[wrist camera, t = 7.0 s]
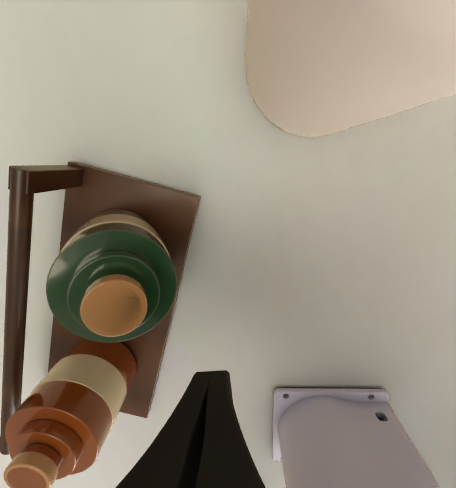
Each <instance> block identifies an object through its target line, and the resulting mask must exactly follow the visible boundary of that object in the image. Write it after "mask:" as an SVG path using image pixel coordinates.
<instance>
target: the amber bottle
mask: <svg viewBox="0 0 456 488" xmlns="http://www.w3.org/2000/svg"><path fill="white" fill-rule="evenodd" d="M136 369H137V368H136V361H135V359H134V356H133V355H132V353H131V352H130V350H129V349H128V348H127V347H126V346H125V345H123V344H122V343H120V342H110V343H107V342H96V341H91V340H88V339H84V338H82V339H80V340H79V341H77V342H76V343H75V344H74V345H73V346H72V347H71V348H70V349H69V351H68V352H67V353H66V354H65V355H64V356H63V357H62V359H61V360H60V361H58V362H57V363H56V364H55V366H54V367H53V368H52V369H51V370H50V371H49V372H48V374H47V375H46V376H45V377H44V378H43V379H42V380H41V382H40V383H39V384H38V385H37V386H36V387H35V388H34V390H33V391H32V392H31V394H30V395H29V396H28V398H27V399H26V400H25V401H24V402H23V403H22V405H21V406H20V407H19V408H18V409H17V410H16V411H15V413H14V414H13V415H12V416H11V417H10V419H9V420H8V422H7V424H6V428H5V438H6V441H7V444H8V446H9V452H10V456H11V458H12V461H11V463H10V464H9V465H8V467H7V468H6V469H5V472H4V480H5V482H6V483H7V485H8V486H9V487H10V488H51V486H52V484H53V483H54V481H55V479H60V478H64V477H66V476H68V475H72V474H76V473H79V472H82V471H84V470H86V469H87V468H89V467H90V466H91V465H92V464H93V463H94V462H95V460H96V459H97V456H98V454H99V452H100V450H101V448H102V446H103V444H104V442H105V439H106V437H107V435H108V433H109V432H110V430H111V428H112V426H113V424H114V422H115V420H116V418H117V415H118V413H119V411H120V409H121V407H122V405H123V403H124V400H125V398H126V395H127V393H128V390H129V388H130V386H131V384H132V382H133V380H134V378H135V375H136Z"/></svg>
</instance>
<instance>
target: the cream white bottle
mask: <svg viewBox="0 0 456 488" xmlns="http://www.w3.org/2000/svg"><path fill="white" fill-rule="evenodd" d="M246 76H247V82H248V85H249V88H250V90H251V93H252V96H253V99H254V102H255V103H256V105H257V106H258V107H259V109H260V110H261V111H262V113H263V114H264V115H265V117H266V118H267V119H268V120H269V121H270V122H272V123H273V124H275V125H276V126H278V127H279V128H281V129H282V130H284V131H285V132H288V133H292V134H296V135H300V136H304V137H312V136H325V135H330V134H333V133H336V132H339V131H342V130H345V129H348V128H352V127H355V126H358V125H361V124H364V123H367V122H370V121H374V120H377V119H380V118H383V117H386V116H389V115H392V114H396V113H399V112H402V111H405V110H408V109H411V108H414V107H418V106H421V105H424V104H427V103H430V102H433V101H437V100H440V99H443V98H446V97H449V96H452V95H455V94H456V0H248V15H247V34H246Z"/></svg>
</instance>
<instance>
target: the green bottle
mask: <svg viewBox="0 0 456 488" xmlns="http://www.w3.org/2000/svg"><path fill="white" fill-rule="evenodd" d="M176 289H177V277H176V272H175V268H174V265H173V263H172V261H171V259H170V256H169V253H168V251H167V249H166V247H165V245H164V243H163V241H162V239H161V237H160V236H159V234H158V232H157V231H156V229H155V228H154V226H153V225H152V224H151V223H150V222H149V221H148V220H147V219H145V218H144V217H143V216H141V215H139V214H137V213H134V212H132V211H127V210H121V209H113V210H106V211H103V212H100V213H97V214H95V215H93V216H92V217H90V218H89V219H87V220H86V221H85V222H84V223H83V224H82V225H81V226H80V227H79V228H78V230H77V231H76V232H75V233H74V234H73V235H72V237H71V238H70V239H69V240H68V242H67V243H66V244H65V246H64V247H63V249H62V250H61V252H60V254H59V256H58V257H57V258H56V260H55V261H54V263H53V265H52V267H51V269H50V271H49V274H48V278H47V283H46V294H47V300H48V303H49V306H50V309H51V311H52V313H53V315H54V316H55V317H56V319H57V320H58V321H59V322H60V323H61V324H62V325H63V326H64V327H65V328H66V329H67V330H69V331H70V332H72V333H74V334H75V335H77V336H79V337H82V338H84V339H88V340H91V341H96V342H107V343H110V342H120V341H126V340H129V339H133V338H135V337H138V336H140V335H142V334H144V333H146V332H148V331H149V330H151V329H152V328H154V327H155V326H156V325H157V324H158V323H159V322H160V321H161V320H162V319H163V318H164V317H165V315H166V314H167V313H168V311H169V309H170V308H171V306H172V304H173V301H174V299H175V295H176Z"/></svg>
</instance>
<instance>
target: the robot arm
mask: <svg viewBox="0 0 456 488" xmlns="http://www.w3.org/2000/svg"><path fill="white" fill-rule="evenodd" d="M284 394H287V395H284ZM369 395H370V396H369ZM388 401H389V394H388V393H387V391H386V390H384V389H317V388H277V389H275V390H274V392H273V433H272V458H273V460H275V461H278V462H282V463H283V470H284V477H285V484H286V488H439V486H438V484H437V482H436V480H435V478H434V476H433V475H432V473H431V471H430V469H429V468H428V466H427V465H426V463H425V461H424V460H423V458H422V457H421V455H420V453H419V452H418V450H417V449H416V447H415V445H414V444H413V442H412V440H411V439H410V437H409V436H408V434H407V432H406V431H405V429H404V428H403V426H402V424H401V423H400V421H399V420H398V418H397V416H396V415H395V413H394V411H393V410H392V408H391V407H390V405H389V403H388ZM116 488H266V487H265V486H264V484H263V482H262V479H261V477H260V475H259V473H258V471H257V469H256V466H255V464H254V462H253V459H252V457H251V455H250V452H249V450H248V447H247V445H246V442H245V440H244V437H243V434H242V431H241V429H240V426H239V423H238V419H237V416H236V412H235V409H234V405H233V399H232V391H231V382H230V374H229V372H228V371H226V370H225V371H207V372H196V373H195V374H194V376H193V378H192V380H191V382H190V384H189V386H188V388H187V389H186V391H185V393H184V395H183V397H182V398H181V400H180V402H179V403H178V405H177V407H176V408H175V410H174V411H173V413H172V415H171V416H170V418H169V419H168V421H167V422H166V424H165V425H164V427H163V428H162V430H161V431H160V433H159V434H158V436H157V437H156V438H155V440H154V441H153V443H152V444H151V445H150V447H149V448H148V449H147V451H146V452H145V453H144V455H143V456H142V457H141V458H140V460H139V461H138V462H137V463H136V465H135V466H134V467H133V468H132V469H131V471H130V472H129V473H128V474H127V475H126V476H125V478H124V479H123V480H122V481H121V482H120V483H119V485H118V486H117V487H116Z"/></svg>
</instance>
